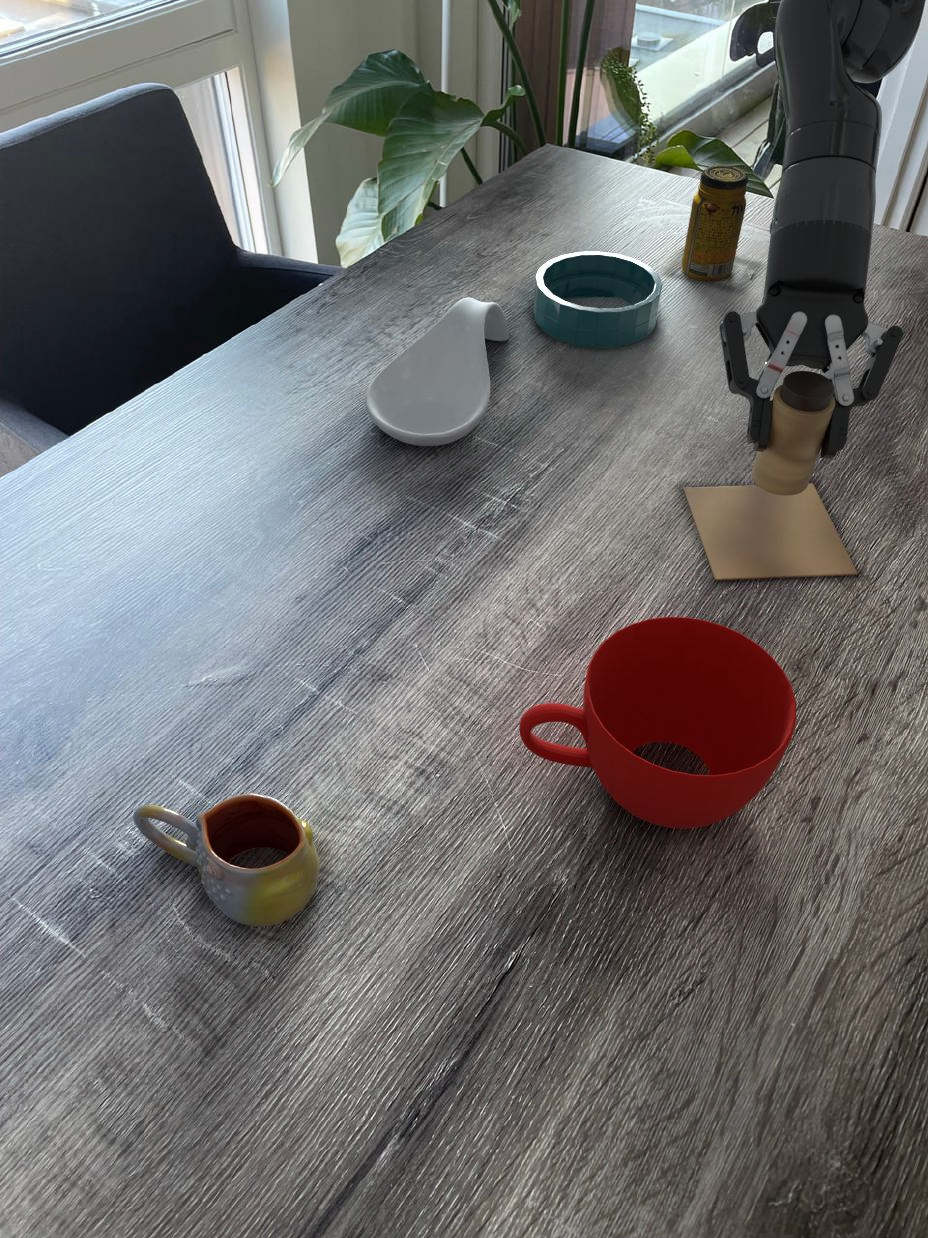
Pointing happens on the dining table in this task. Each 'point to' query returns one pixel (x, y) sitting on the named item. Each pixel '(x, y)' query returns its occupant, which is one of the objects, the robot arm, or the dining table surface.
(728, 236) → the condiment
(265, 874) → the mug
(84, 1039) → the dining table surface
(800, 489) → the pepper mill
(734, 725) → the ceramic cup
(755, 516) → the plate
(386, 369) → the spoon rest
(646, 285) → the pot
